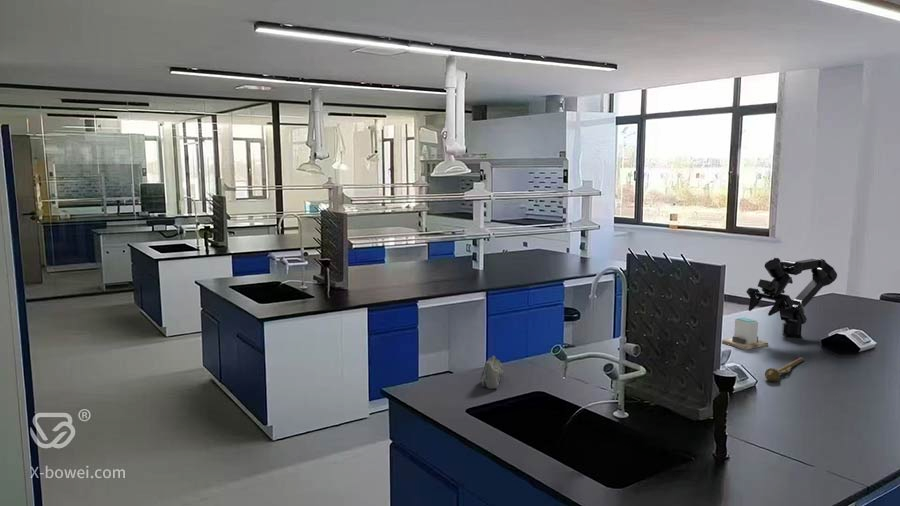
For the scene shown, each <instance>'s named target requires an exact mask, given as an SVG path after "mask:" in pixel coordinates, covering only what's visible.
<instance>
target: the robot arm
mask: <svg viewBox="0 0 900 506" xmlns="http://www.w3.org/2000/svg"><path fill="white" fill-rule="evenodd" d="M764 269H766V271H767V272H768V274H769V275H770V277H771V278H773V279H772V280H766V279H759V281H758V284H757V287H759V288H761V292H760V290H759V289H758V288H753V287H749V288H748V289H747V290H746V291H745V292H746V294H747V295H748V297H749V300H750V301H749V305H748V311H749V312H751V311H753V310H754V309H755V308H756V307H757V306H758V305H759V304H760V301H761V300H762V299H765V300H770V301H774V304H773V305H772V307H771V308H770V310H769V312H768V313H767V316H769V317H770V316H772V315H775V314H777V313H779V315H780V320H781V321H783V323H782V328H781V332H782V334H783V335H784V336H785V337H792V338H803V335H802V327H803V325H805V324H806V323H807V320H808V318H807V316H806V315H805V307H806V306H807V305H808V304H809V302H811V301H812V299H813V298H815V296H816V295H817V293H819V291H820V290H821V289H822V288H823V287H826V286H829V285H831V284H832V283H834V282H835V280H836V279H837V278H838V273H837V272H836V270H835V268H834V267H833V266H831V265H830V264H828V262H827V261H826V260H825V259H823V258H818V257H812V258H809V259H804V260H803V259H802V260H797V261H795V260H787V259H784V260H782V261H781V260H780V258H779V257H773V259H770V260H768V261H766V262H765V264H764ZM808 270H810V272H811V273H812V279H811V280H810V282H809V283H807V285H806V286H805V287H804V288H803V289H802V290H801V291H800V292H799V293H798V295H797V296H796V297H795V298H794V299H792V298H791V296H790V295H788V294H785V293H786V291H785V288H786V287H787V286H788V284H793V277H792V276H791V275H793V276H797V275H800V274H802V272H803V271H808Z"/></svg>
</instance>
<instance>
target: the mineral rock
mask: <svg viewBox="0 0 900 506" xmlns="http://www.w3.org/2000/svg"><path fill="white" fill-rule="evenodd" d="M504 373H505V372H504V365H503V363H502V362H501V361H500V360H499V358H498V359H497V358H496V356H495V355H492V356H491V357H489V358H488V359H487V360H486V361H485V362H484V366H483V371H482V373H481V377H480V381H481V386H482V388H487V389H490V390H491V389H497V388H498V387H499V384H500V381H501V380H502V378H503V377H504Z"/></svg>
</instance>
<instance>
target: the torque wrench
mask: <svg viewBox="0 0 900 506" xmlns="http://www.w3.org/2000/svg"><path fill="white" fill-rule="evenodd" d="M804 360H805V359H804V357H802V356H800V357H798V358H796V359H795V360H793V361H791V362H789V363H788V364H785V365H784V366H781V367H780V368H778V369H776V368H772V367H770V368H767V369H766V371H765V372H764V376H765V379H766V380H767V381H768V382H771V383H772V382H773V383H775V382H778V381H779V380H780V378H781V375H783V374H788V373H789V372H790V371H791V369H792V368H793V367H794V366H796V365H798V364H800V363H801V362H804Z"/></svg>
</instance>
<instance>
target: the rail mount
mask: <svg viewBox="0 0 900 506" xmlns="http://www.w3.org/2000/svg"><path fill="white" fill-rule="evenodd" d="M745 342H746V340H745V339H742V338H739V337H735V336H734V335H733V336H732V337H731V338H725V339H722V340H721V343H722V344H724V343H725V344H724V345H727V344H729V345H728V346H731V347H734V348H737V349H740V350H745V351H746V350H750V349H757V348H762V347H766V346H769V342H768V341H764V340H762V339H759V336H757V343H752V344H746V343H745Z"/></svg>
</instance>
